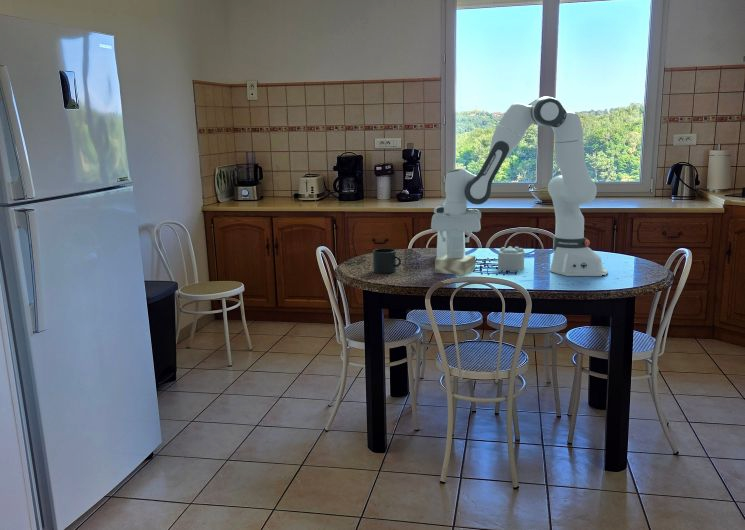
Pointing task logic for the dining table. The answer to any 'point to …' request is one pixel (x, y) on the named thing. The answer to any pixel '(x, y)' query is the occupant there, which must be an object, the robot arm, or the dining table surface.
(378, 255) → the mug
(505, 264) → the lumpy-topped squat cylinder
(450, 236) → the skincare box
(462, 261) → the birch block
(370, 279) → the dining table surface
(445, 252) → the milk
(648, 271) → the dining table surface
